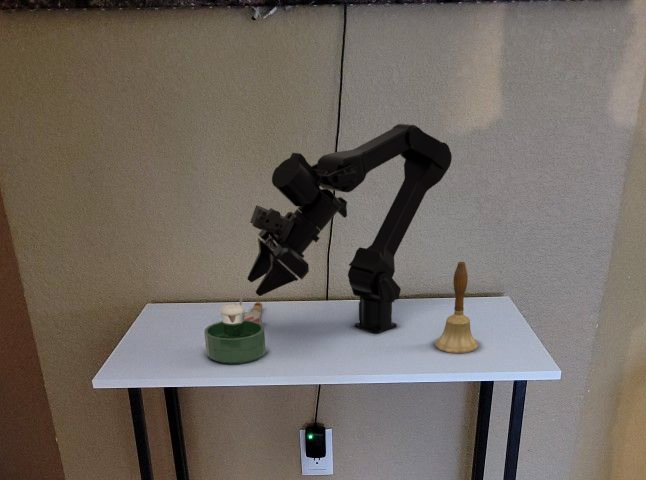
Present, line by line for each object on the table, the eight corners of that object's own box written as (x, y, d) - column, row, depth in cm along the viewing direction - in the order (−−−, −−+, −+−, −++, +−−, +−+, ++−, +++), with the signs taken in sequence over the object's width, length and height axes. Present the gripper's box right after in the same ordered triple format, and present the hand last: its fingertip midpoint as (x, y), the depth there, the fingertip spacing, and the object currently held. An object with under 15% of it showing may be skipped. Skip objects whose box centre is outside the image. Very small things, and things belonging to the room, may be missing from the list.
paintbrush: (236, 325, 149) (249, 299, 166) (237, 338, 150) (250, 312, 168) (255, 324, 149) (267, 299, 166) (256, 338, 150) (268, 311, 167)
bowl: (277, 354, 144) (276, 329, 141) (230, 370, 137) (227, 343, 134) (242, 340, 151) (240, 315, 148) (195, 354, 144) (192, 329, 142)
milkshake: (255, 349, 144) (251, 297, 139) (237, 357, 141) (233, 305, 135) (237, 344, 147) (232, 294, 141) (219, 353, 143) (214, 301, 138)
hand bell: (474, 355, 141) (482, 269, 133) (431, 351, 143) (435, 266, 135) (480, 340, 148) (487, 257, 139) (438, 336, 150) (443, 255, 142)
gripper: (266, 180, 138) (212, 246, 142) (286, 197, 123) (226, 271, 126) (309, 221, 144) (257, 284, 147) (334, 243, 128) (275, 313, 132)
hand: (253, 287), depth 138 cm, fingers open, 9 cm apart
